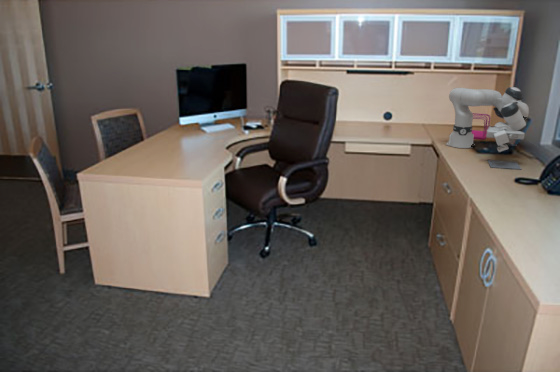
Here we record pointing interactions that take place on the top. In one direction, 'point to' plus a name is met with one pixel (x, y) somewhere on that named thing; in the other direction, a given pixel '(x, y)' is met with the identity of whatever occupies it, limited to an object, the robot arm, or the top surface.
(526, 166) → the top surface
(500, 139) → the security camera
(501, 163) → the desk pad
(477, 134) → the file sorter
